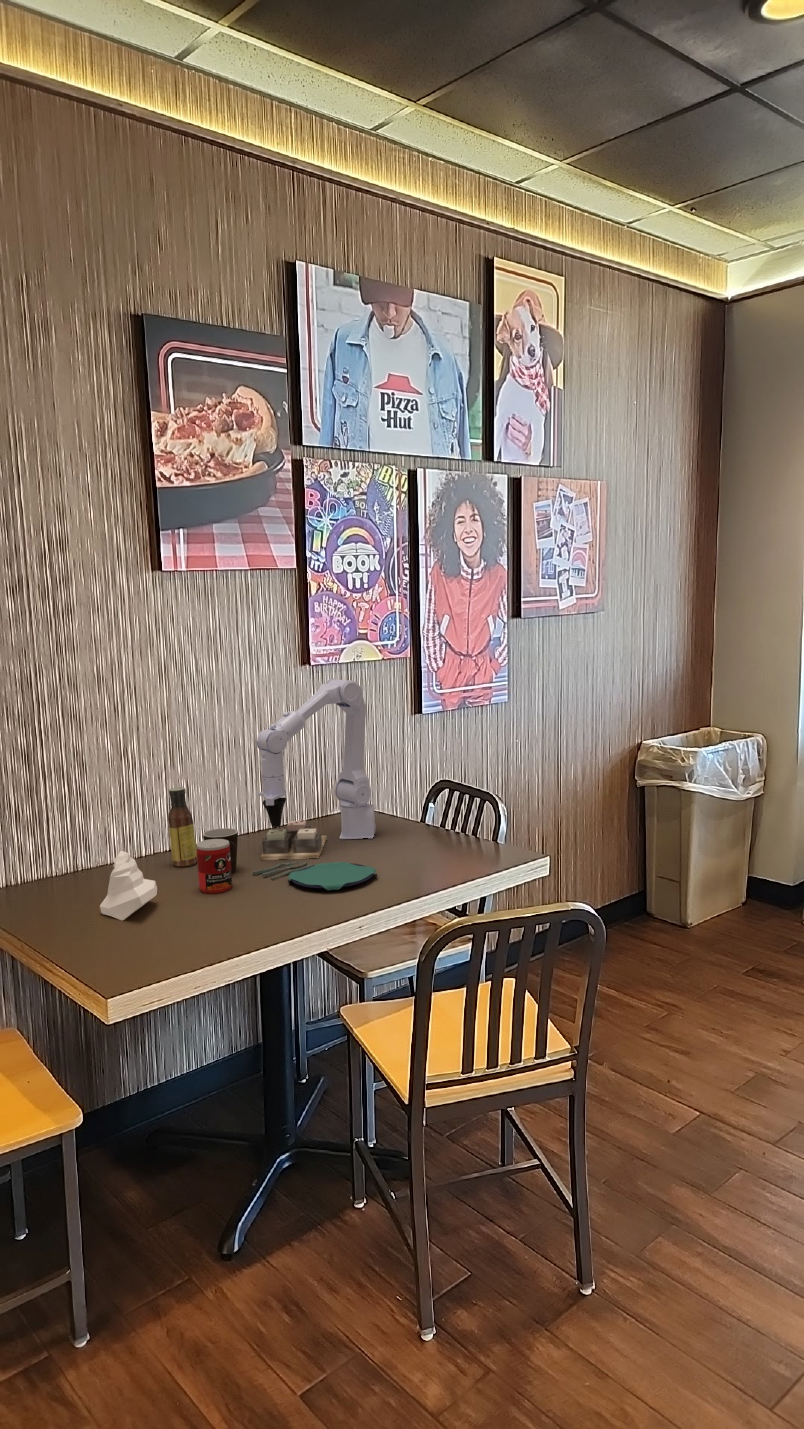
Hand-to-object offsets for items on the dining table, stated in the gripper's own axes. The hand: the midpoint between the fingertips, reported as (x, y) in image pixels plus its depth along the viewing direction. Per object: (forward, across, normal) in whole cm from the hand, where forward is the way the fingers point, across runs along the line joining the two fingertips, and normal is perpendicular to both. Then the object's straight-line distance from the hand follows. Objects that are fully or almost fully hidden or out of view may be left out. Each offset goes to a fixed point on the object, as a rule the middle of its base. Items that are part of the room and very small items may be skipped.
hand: (276, 826), depth 252 cm
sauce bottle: (+8, +7, -23) cm, 25 cm away
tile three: (+4, -9, +4) cm, 11 cm away
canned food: (+8, +28, -10) cm, 31 cm away
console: (+7, -4, +4) cm, 9 cm away
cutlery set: (+8, +21, +13) cm, 26 cm away
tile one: (+4, 0, +8) cm, 9 cm away
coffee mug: (+8, +16, -11) cm, 21 cm away
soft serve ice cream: (+8, +42, -26) cm, 50 cm away
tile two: (+4, 0, 0) cm, 4 cm away
